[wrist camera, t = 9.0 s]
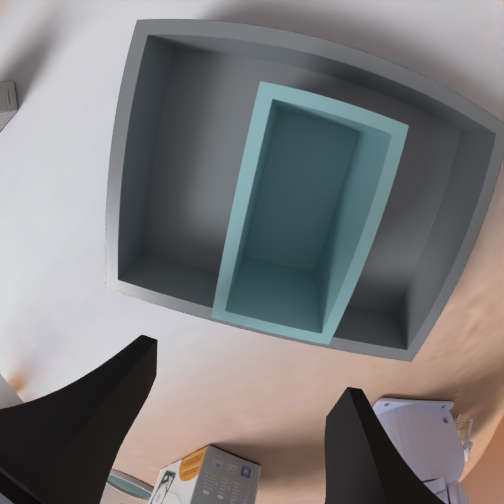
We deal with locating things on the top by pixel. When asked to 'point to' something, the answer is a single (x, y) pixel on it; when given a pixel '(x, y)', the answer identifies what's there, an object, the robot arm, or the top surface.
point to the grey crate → (230, 158)
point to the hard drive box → (207, 480)
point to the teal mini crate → (304, 211)
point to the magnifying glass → (129, 485)
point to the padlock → (7, 102)
